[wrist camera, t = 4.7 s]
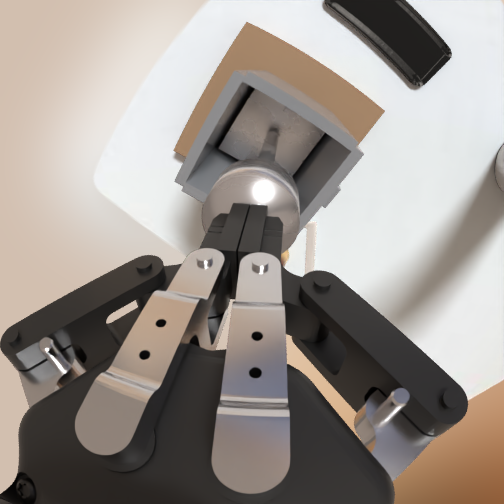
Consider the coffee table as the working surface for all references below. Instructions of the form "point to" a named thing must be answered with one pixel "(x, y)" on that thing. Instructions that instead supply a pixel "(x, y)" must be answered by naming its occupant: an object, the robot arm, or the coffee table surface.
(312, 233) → the dessert
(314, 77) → the grey square holder
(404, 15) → the phone
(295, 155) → the plunger
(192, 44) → the coffee table surface
